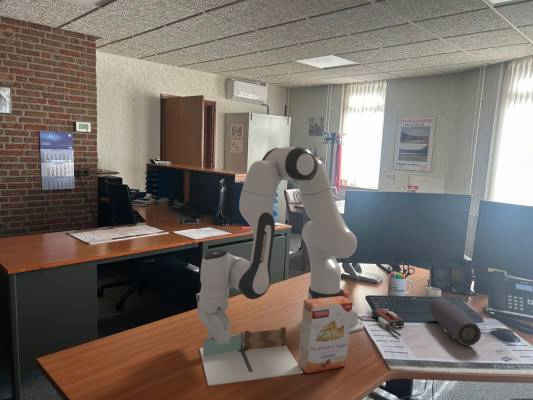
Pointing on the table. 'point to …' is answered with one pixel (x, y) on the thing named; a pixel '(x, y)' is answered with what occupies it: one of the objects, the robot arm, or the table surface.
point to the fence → (264, 339)
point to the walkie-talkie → (389, 319)
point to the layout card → (249, 365)
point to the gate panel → (223, 345)
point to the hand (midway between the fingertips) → (212, 343)
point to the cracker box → (324, 333)
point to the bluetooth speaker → (455, 321)
